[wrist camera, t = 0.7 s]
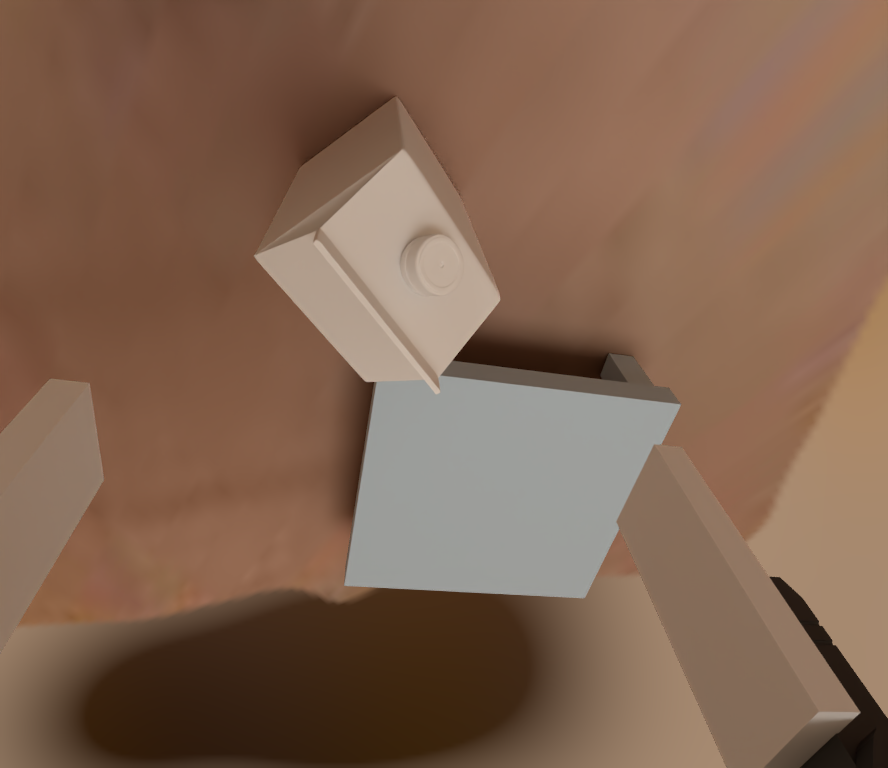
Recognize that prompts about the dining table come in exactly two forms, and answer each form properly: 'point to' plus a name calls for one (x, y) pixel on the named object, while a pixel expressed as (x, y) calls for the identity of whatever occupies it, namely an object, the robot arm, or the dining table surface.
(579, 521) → the grey square footed tray
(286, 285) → the milk carton
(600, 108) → the dining table surface
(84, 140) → the dining table surface
